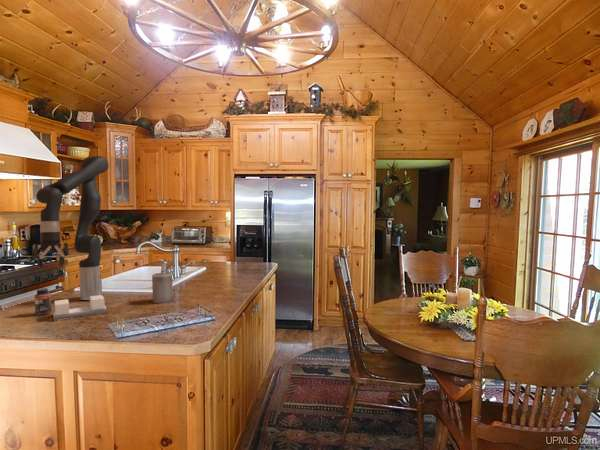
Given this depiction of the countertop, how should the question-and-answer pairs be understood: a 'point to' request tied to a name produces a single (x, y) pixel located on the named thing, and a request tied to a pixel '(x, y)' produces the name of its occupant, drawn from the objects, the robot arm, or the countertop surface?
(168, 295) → the pillar candle
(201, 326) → the countertop surface
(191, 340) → the countertop surface
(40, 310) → the supplement bottle
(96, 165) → the robot arm
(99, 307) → the rail board
